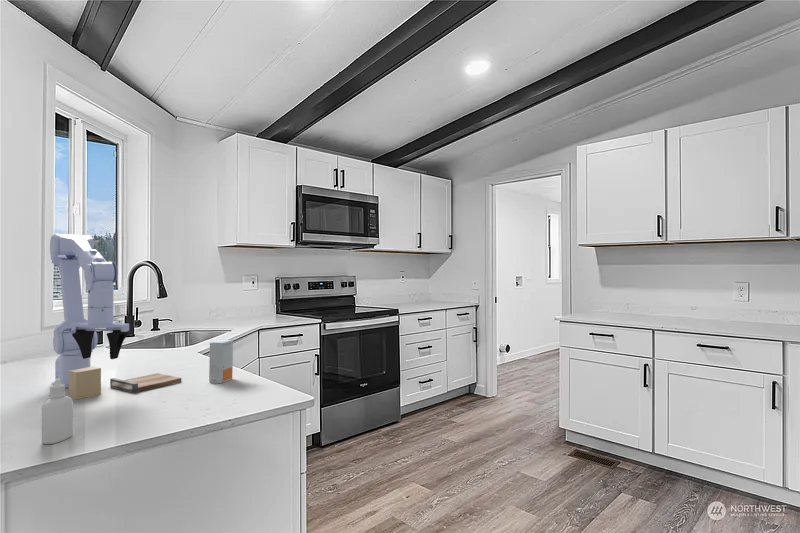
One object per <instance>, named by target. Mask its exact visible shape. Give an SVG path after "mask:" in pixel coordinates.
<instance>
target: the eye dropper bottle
mask: <svg viewBox="0 0 800 533" xmlns="http://www.w3.org/2000/svg"><path fill="white" fill-rule="evenodd" d="M54 380H55V379H54ZM54 382H55V384H52V385H51V386H50V387H49V397H50V398H49V399H47V400H46V401H45V402H44V403H43V404H42V406H41V444H43V445H53V444H54V445H55V444H57V443H60V442H63V441H65V440H68V439H69V438H70V437H72V435H74V434H73V433H74V409H73V408H74V400H73V398H71V397H69V395H66V387H65V385H63V384H61V381H60V379H56V380H55V381H54Z"/></svg>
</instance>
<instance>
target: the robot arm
mask: <svg viewBox="0 0 800 533" xmlns="http://www.w3.org/2000/svg"><path fill="white" fill-rule="evenodd" d="M49 252H50V260H51V264H53V265H55V266H56V267H57V268H58V270H59V276H60V284H61V287H60V288H61V295H62V305H63V306H62V307H63V318H64V321H62V322H61V323H59V324H58V325H56V327H54V330H53V338H52V339H53V340H52V345H53V350H54V352H55V353H56V354H58V356H57V358H56V360H55V362H54V363H55V364H54V368H55V373H54V380H56V379H60V381H61V384H63V385H65V389H69V371H70V370H76V369H82V368H87V367H91V358H92V353H93V350H94V351H95V349H96V348H97V346H98V341H99V339H98V333H97V332H108V333H106V337H107V340H108V344H109V359H110V360H116V359H119V356H120V355H119V354H120V351H121V349H122V345H123V343H124V341H125V340H126V338H127V336H128V334H129V331H130V323H123V322H121V323H120V322H114V284H115V283H116V282H117V279H118V266H117V264H116V262H115V261H114V260H113V261H107V260H106V258H104V256H103V255H102V254H101V253H100V251H98V250H97V249H96V248H95V242H94V239H93V236H91V235H90V234H86V235H83V234H82V235H80V234H64V233H63V234H59V233H53V234H52V235H51V236H50V241H49ZM80 268H81V269H82V270H83V271H84V273H83V276H84V281H85V290H86V291H87V319H86V318H85V316H84V307H83V306H84V305H83V297H82V296H83V295H82V294H83V293H82V288H81V287H82V286H81V274H80ZM54 384H55V381H51V385H54Z"/></svg>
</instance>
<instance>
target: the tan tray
mask: <svg viewBox="0 0 800 533" xmlns="http://www.w3.org/2000/svg"><path fill="white" fill-rule="evenodd" d="M109 380H110V381H109V384H110V386H109V387H110V388H112V389H116V390H120V391H124V392H129V393H133V394H135V393H136V394H137V393H140V392H145V391H149V390H153V389H157V388H162V387H166V386H170V385H175V384H179V383H182V377H179V376H172V375H167V374H162V373H154V374H147V375H144V376H138V377H133V378H132V377H131V378H128V379H119V378H114V377H113V378H110V379H109Z"/></svg>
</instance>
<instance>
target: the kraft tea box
mask: <svg viewBox="0 0 800 533" xmlns="http://www.w3.org/2000/svg"><path fill="white" fill-rule="evenodd" d="M101 394H102V368H101V367H97V366H90V367H87V368H82V369H76V370H70V371H69V387H68V396H69V397H71V398H72V400H73V399H74V400H80V399H83V398H84V399H85V398H89V397H94V396H97V395H101Z"/></svg>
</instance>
